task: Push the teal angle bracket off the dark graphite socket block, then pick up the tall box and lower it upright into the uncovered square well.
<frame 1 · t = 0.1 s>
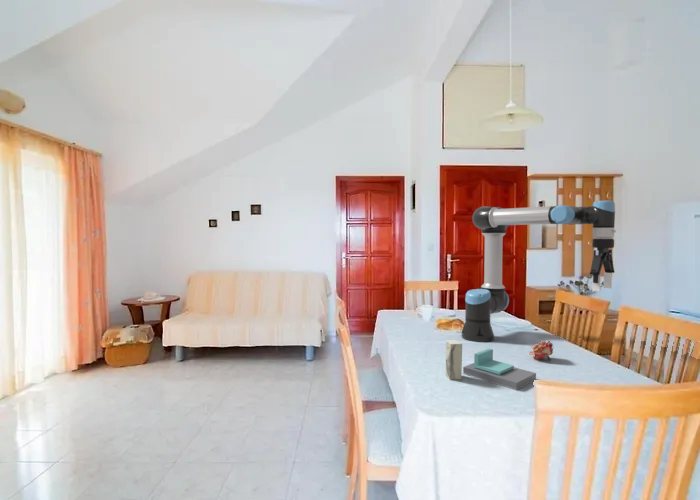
hand: (601, 289, 162), 28 cm above the table, fingers open, 13 cm apart
teal angle bracket: (493, 360, 141), point 5 cm above the table, slide at 0.0 cm
flower: (540, 360, 159), on the table
socket block: (498, 376, 139), on the table
box: (453, 377, 139), on the table
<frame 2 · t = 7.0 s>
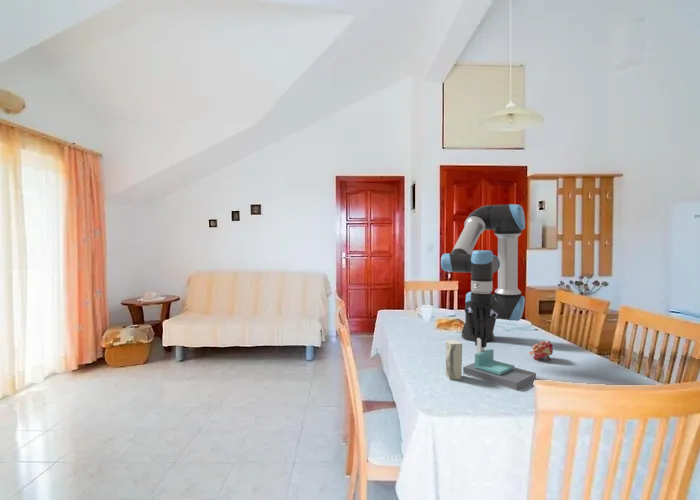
hand: (480, 355, 145), 6 cm above the table, fingers closed
teal angle bracket: (494, 361, 140), point 5 cm above the table, slide at 0.3 cm, touching gripper
everything else where it was.
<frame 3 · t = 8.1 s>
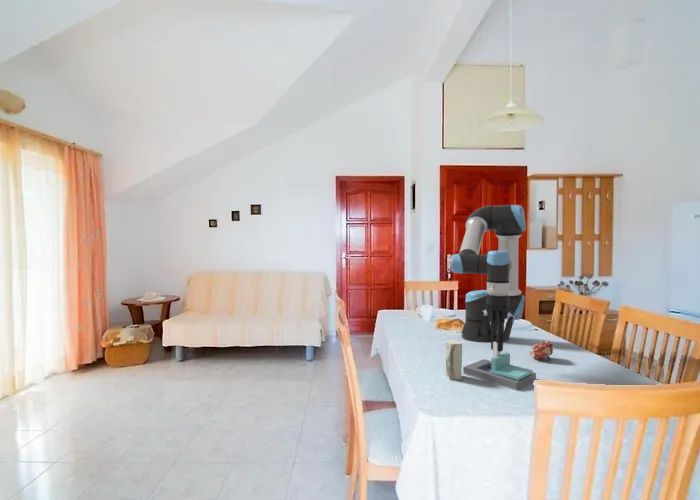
hand: (496, 359, 140), 6 cm above the table, fingers closed
teal angle bracket: (511, 365, 136), point 5 cm above the table, slide at 6.7 cm, touching gripper
everything else where it was.
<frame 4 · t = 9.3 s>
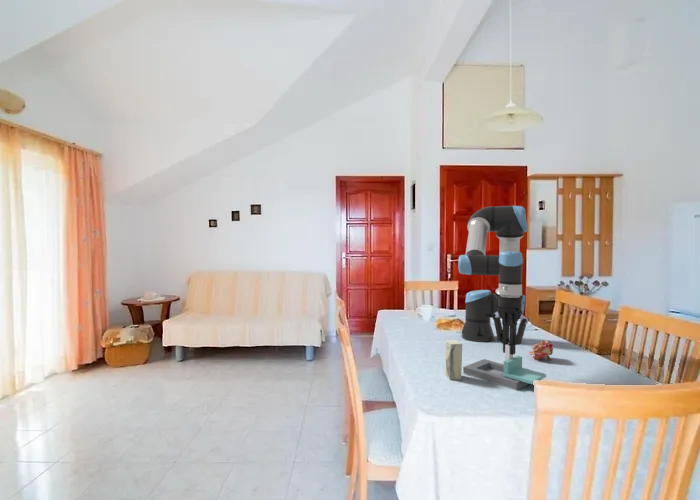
hand: (508, 362, 136), 6 cm above the table, fingers closed
teal angle bracket: (524, 369, 132), point 5 cm above the table, slide at 11.2 cm, touching gripper
everything else where it was.
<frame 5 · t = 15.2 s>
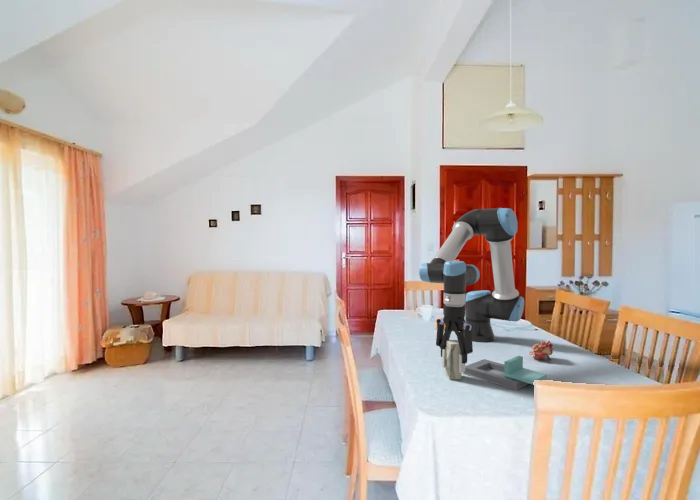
hand: (453, 369, 139), 3 cm above the table, fingers closed on box, 6 cm apart
teal angle bracket: (525, 369, 132), point 5 cm above the table, slide at 11.4 cm
box: (453, 377, 139), on the table, touching gripper
everything else where it was.
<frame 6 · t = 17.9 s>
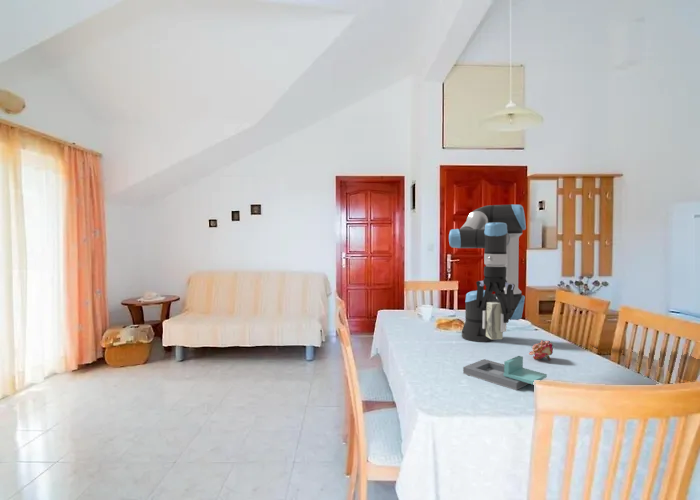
hand: (494, 329, 140), 17 cm above the table, fingers closed on box, 6 cm apart
box: (494, 338, 140), point 13 cm above the table, touching gripper
everything else where it was.
when the fingers open (4 cm above the table, at t = 20.1 s): box stays where it is, resting on socket block.
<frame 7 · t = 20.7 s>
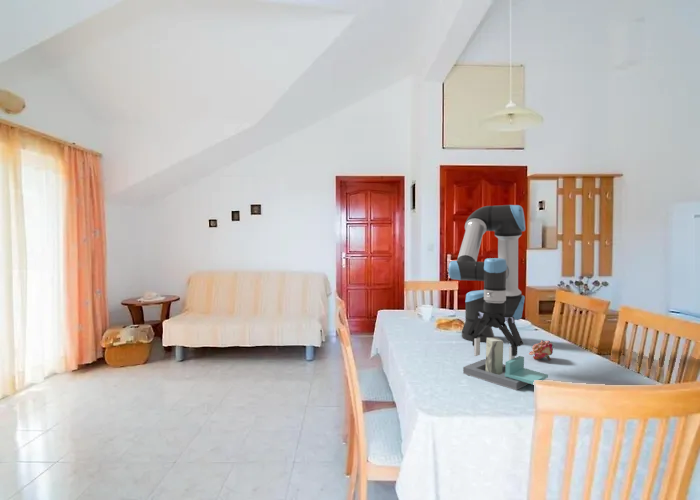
hand: (493, 359, 141), 6 cm above the table, fingers open, 13 cm apart
teal angle bracket: (526, 369, 132), point 5 cm above the table, slide at 11.9 cm, touching gripper
box: (494, 374, 141), resting on socket block
everything else where it was.
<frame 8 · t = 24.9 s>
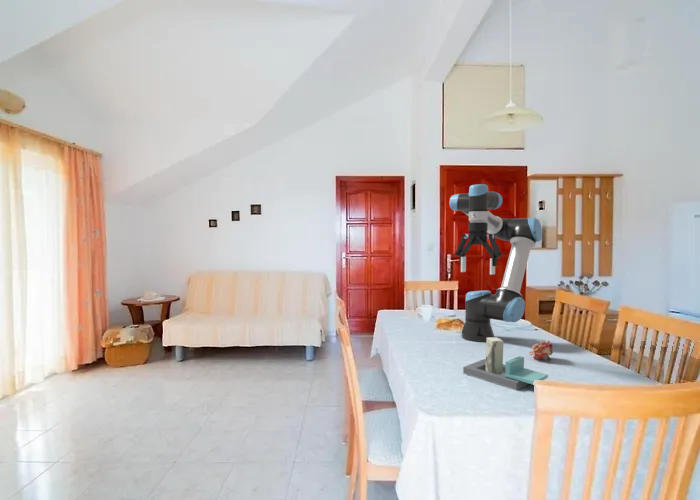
hand: (477, 273, 163), 35 cm above the table, fingers open, 13 cm apart
teal angle bracket: (526, 369, 132), point 5 cm above the table, slide at 11.9 cm
everything else where it was.
at the end: box 0.2 cm from the target spot, resting on socket block; box tilted 0°; teal angle bracket slide at 11.9 cm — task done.
